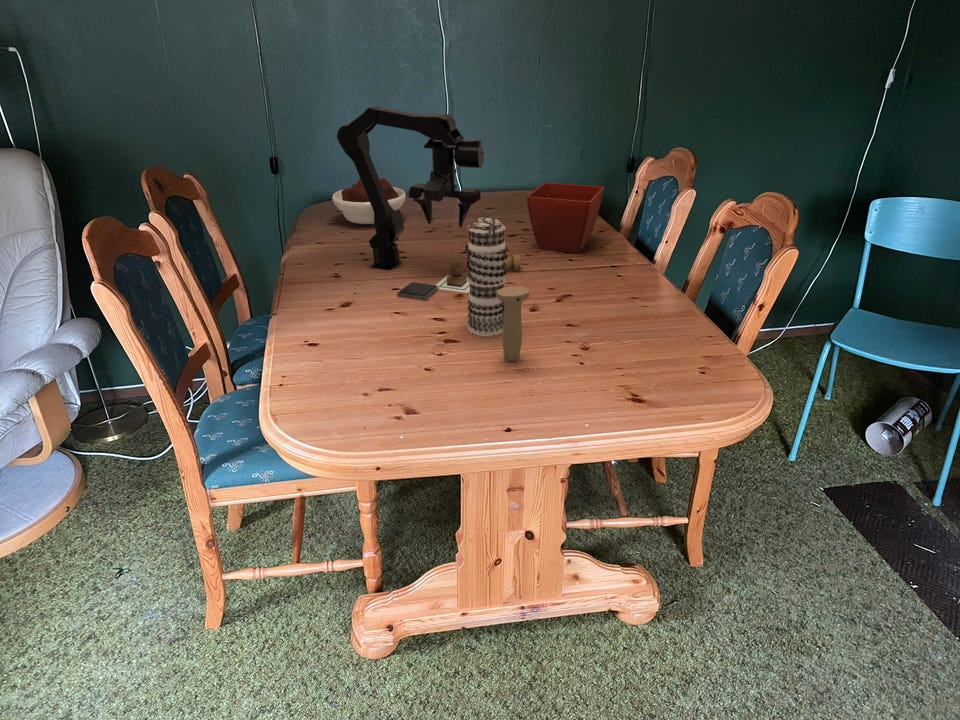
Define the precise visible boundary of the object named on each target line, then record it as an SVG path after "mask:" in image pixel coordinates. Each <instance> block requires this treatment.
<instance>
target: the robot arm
mask: <svg viewBox="0 0 960 720" xmlns="http://www.w3.org/2000/svg"><path fill="white" fill-rule="evenodd" d="M377 125H381V126H386V127H392V128H396V129H403V130H409V131H413V132H417V133H419V134H422V135H423V136H425V137H427V138H429V139H428V140H427V142H426V143H425V144H424V145H423V148H424V149H431V161H432V170H431V171H430V174H429V180H428V181H426V183H416V184H413V185H412V186H410V187H409V188H408V192H407V193H408V198H409V199H412V200H413V201H414V202H416V203H417V204H418V205H420V206H421V207H420V208H421V210H422V212H423V213H424V216H425V219H426V221H427V224H428V225H430V224H432V219H433V212H432V211H433V204H432V202H433V201H434V202H442V200H443V199H444V198H454V199H458V200H459V203H458V204H457V206H458V208H459V210H458V211H459V214H458V217H459V218H458V227H459V228H462V227H463V225H464V222H465V220H466V217H467V214H468V212H469V210H470V208H471V206H472V205H474V204H475V203H477V202H478V201H480V200H481V197H482V196H481V194H482V193H481V191H480V189H479V188H477V187H476V188H475V187H464V188H463V189H461V190H456V189H457V188H458V186H457V185H458V184H456V183H455V182H456V181H455V179H456V178H455V177H456V176H455V174H456V173H457V168H455V165H458V167H459V168H466V169H467V168H471V169H482V168H483V165H484V160H485V152H484V148H483V147H484V146H483V145H482V140H481V139H473V140H472V139H470V140H469V139H465V138H464V136H463V135H462V133H461V132H460V130H459V129H458V128H457V123H456V120H455V119H454V117H453V115H451V114H450V113H427V114H420V113H419V114H418V113H414V112H413V113H412V112H407V111H401V110H396V109H390V108H384V107H381V106H379V105H374V106H371V107H368V108H366V109H365V111H364V112H362V113H361V114H360V115H359V116H358V117H356V118H355V119H354V120H352V121H351V122H350V123H347V124H344V125H342V126H341V127H339V129H338V130H337V132H336V133H337V134H336V138H337V141H338V144H339V145H340V147H341V148H342V150H343V152H344V153H345V154H346V155H347V157H349V159H350V160H351V161H352V162H353V164H354V166H355V169H356V172H357V174H358V177H359V179H361V182H362V184H363V186H364V189H365V191H366V194H367V196H368V199H369V201H370V204H371V206H372V209H373V211H374V224H373V225H374V228H375V234H374V235H373V236H371V238H370V239H369V240H368V243H369V246H370V248H371V249H372V255H373V263H372V264H371V268H377V269H385V270H392V269H394V268H395V267H397V266H398V265H400V264H401V263H402V261H401V260H400V250H399V249H398V243H396V242H398V240H399V238H400V236H401V235H402V234H403V233H404V230H405V226H404V225H405V223H406V222H405V220H404V218H403V216H402V213H401V210H400V208H399V209H398V210H396V211H395V210H394V209H393V208H392V207H391V206H390V205H389V202H388V200H387V197H386V195H385V192H384V190H383V187H382V185H381V182H380V178H379V175H378V172H377V170H376V167H375V165H374V163H373V160H372V158H371V155H370V150H371V149H370V145H371V144H370V139H369V135H368V134H370V132H372V131H373V130H374V129H375V127H377Z"/></svg>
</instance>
